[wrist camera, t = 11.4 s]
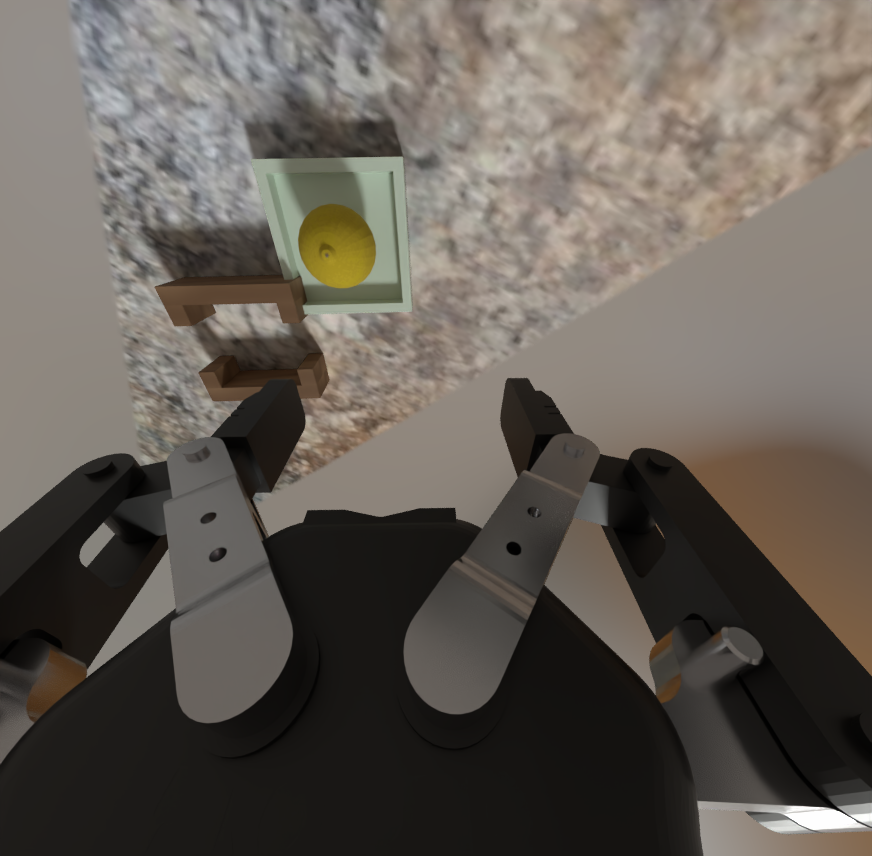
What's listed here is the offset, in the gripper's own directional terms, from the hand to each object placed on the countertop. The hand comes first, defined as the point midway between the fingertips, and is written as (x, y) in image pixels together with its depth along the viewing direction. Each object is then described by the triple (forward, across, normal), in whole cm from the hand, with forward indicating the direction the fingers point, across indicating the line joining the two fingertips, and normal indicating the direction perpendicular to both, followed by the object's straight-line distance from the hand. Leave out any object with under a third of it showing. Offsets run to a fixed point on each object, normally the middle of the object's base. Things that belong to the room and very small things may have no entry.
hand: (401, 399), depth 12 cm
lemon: (+21, +6, -3) cm, 22 cm away
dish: (+22, +6, -3) cm, 23 cm away
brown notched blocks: (+22, +16, +5) cm, 27 cm away
